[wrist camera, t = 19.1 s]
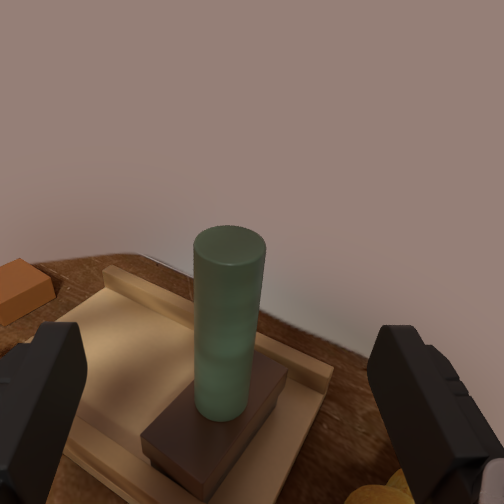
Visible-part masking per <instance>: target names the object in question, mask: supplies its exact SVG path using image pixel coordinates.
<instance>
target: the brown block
mask: <svg viewBox="0 0 504 504" xmlns="http://www.w3.org/2000/svg"><path fill="white" fill-rule="evenodd" d="M55 298H56V295H55V292H54V288H53V284H52V280H51V277H49V276H48V275H46V274H44V273H43V272H41V271H40V270H38V269H36V268H35V267H33V266H32V265H30V264H29V263H27V262H25V261H24V260H22V259H21V258H19V259H17V260H14V261H12V262H10V263H7V264H5V265H3V266H1V267H0V324H1V325H2V326H4V327H5V326H7V325H9V324H10V323H12V322H14V321H16V320H17V319H19V318H21V317H23V316H24V315H26V314H28V313H30V312H32V311H33V310H35V309H37V308H39V307H40V306H42V305H44V304H46V303H48V302H49V301H51V300H53V299H55Z"/></svg>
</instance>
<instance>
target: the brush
mask: <svg viewBox="0 0 504 504" xmlns="http://www.w3.org/2000/svg"><path fill="white" fill-rule="evenodd" d="M193 246H194V380H193V381H192V382H191V383H190V384H189V385H188V386H187V387H186V388H185V389H184V390H183V391H182V392H181V393H180V394H179V395H178V396H177V397H176V398H175V399H174V400H173V401H172V402H171V403H170V404H169V405H168V406H167V407H166V408H165V409H164V410H163V411H162V412H161V414H160V415H159V416H158V417H157V418H156V419H155V420H154V421H153V422H152V423H151V424H150V425H149V426H148V427H147V428H146V429H145V430H144V431H143V432H142V433H141V434H140V439H141V446H142V453H143V454H144V455H145V456H146V457H147V458H149V459H150V463H151V466H152V467H153V468H155V469H156V470H158V471H159V472H160V473H162V474H163V475H165V476H166V477H168V478H169V479H171V480H172V481H174V482H175V483H176V484H178V485H179V486H181V487H182V488H184V489H185V490H187V491H188V492H190V493H191V494H192V495H194V496H195V497H196V498H198V499H199V500H200V501H202V502H204V503H206V504H208V502H209V501H210V499H211V498H212V496H213V495H214V494H215V492H216V491H217V489H218V488H219V487H220V485H221V484H222V482H223V481H224V479H225V478H226V477H227V475H228V474H229V472H230V471H231V469H232V468H233V467H234V465H235V464H236V462H237V461H238V459H239V458H240V457H241V455H242V454H243V452H244V451H245V449H246V448H247V447H248V445H249V444H250V442H251V441H252V440H253V438H254V437H255V435H256V434H257V432H258V431H259V430H260V428H261V427H262V425H263V424H264V422H265V421H266V420H267V418H268V417H269V415H270V414H271V412H272V411H273V410H274V408H275V407H276V405H277V400H278V396H279V395H280V393H281V392H282V390H283V389H284V388H285V383H286V378H287V373H288V368H286V367H284V366H283V365H281V364H279V363H277V362H275V361H274V360H272V359H270V358H268V357H267V356H265V355H263V354H261V353H259V352H258V351H256V350H254V346H255V338H256V330H257V321H258V313H259V305H260V296H261V288H262V280H263V271H264V263H265V255H266V244H265V242H264V240H263V238H262V237H261V236H260V235H259V234H257V233H256V232H254V231H252V230H249V229H246V228H243V227H239V226H230V225H225V226H216V227H212V228H209V229H206V230H204V231H202V232H201V233H200V234H199V235H198V236H197V237H196V239H195V241H194V244H193Z"/></svg>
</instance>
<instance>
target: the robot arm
mask: <svg viewBox="0 0 504 504" xmlns="http://www.w3.org/2000/svg"><path fill="white" fill-rule="evenodd" d="M87 372H88V364H87V358H86V354H85V350H84V346H83V341H82V337H81V333H80V328H79V325H78V323H77V322H43V323H42V324H41V325H40V327H39V328H38V330H37V332H36V334H35V336H34V338H33V339H32V341H31V343H18V344H17V345H16V346H15V347H13V348H12V349H11V350H10V351H9V352H8V353H7V354H6V355H4V356H3V357H2V358H1V359H0V504H45V503H46V500H47V497H48V494H49V491H50V488H51V485H52V482H53V479H54V476H55V474H56V471H57V468H58V465H59V462H60V459H61V456H62V453H63V450H64V447H65V444H66V441H67V438H68V435H69V432H70V429H71V426H72V423H73V420H74V417H75V414H76V411H77V408H78V406H79V403H80V400H81V397H82V394H83V391H84V388H85V384H86V380H87ZM367 376H368V381H369V385H370V388H371V390H372V393H373V395H374V398H375V401H376V403H377V406H378V408H379V411H380V414H381V416H382V419H383V421H384V424H385V427H386V429H387V432H388V434H389V437H390V440H391V442H392V445H393V447H394V450H395V453H396V455H397V458H398V460H399V463H400V466H401V468H402V471H403V473H404V476H405V479H406V481H407V484H408V486H409V489H410V492H411V494H412V497H413V500H414V502H415V504H504V448H503V446H502V445H501V443H500V441H499V440H498V438H497V437H496V435H495V433H494V432H493V430H492V429H491V427H490V425H489V424H488V422H487V421H486V419H485V417H484V416H483V414H482V413H481V411H480V409H479V408H478V406H477V405H476V403H475V401H474V400H473V398H472V397H471V396H469V394H468V393H469V392H468V390H467V389H466V387H465V385H464V384H463V383H462V381H460V380H459V376H458V374H457V373H456V371H455V369H454V368H453V366H452V365H451V363H450V361H449V360H448V359H447V358H446V357H445V356H443V354H441V353H440V352H439V351H438V350H437V349H436V348H435V347H434V346H432V345H425V344H424V342H423V341H422V339H421V337H420V336H419V334H418V332H417V330H416V329H415V328H414V327H413V326H411V325H383V326H382V327H381V328H380V331H379V333H378V336H377V339H376V341H375V344H374V347H373V350H372V352H371V355H370V358H369V360H368V365H367Z"/></svg>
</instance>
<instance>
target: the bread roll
mask: <svg viewBox="0 0 504 504" xmlns="http://www.w3.org/2000/svg"><path fill="white" fill-rule="evenodd" d="M344 504H415V502H414V500H413V497H412V494H411V492H410V489H409V486H408V484H407V481H406V479H405V476H404V473H403V471H402V468H401V469H399V470H398V471H397V472H395V474H394V475H393V476H392V477H391V478H390V479H389V481H388V482H387V484H386V485H385V486H383V485H366V486H361V487H360V488H358V489H357V490H355V491H354V492H352V493H351V494H350V495H349V496H348V498H347V499H346V501H345V503H344Z"/></svg>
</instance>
